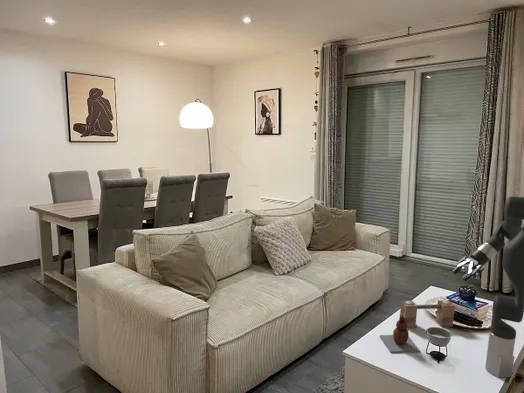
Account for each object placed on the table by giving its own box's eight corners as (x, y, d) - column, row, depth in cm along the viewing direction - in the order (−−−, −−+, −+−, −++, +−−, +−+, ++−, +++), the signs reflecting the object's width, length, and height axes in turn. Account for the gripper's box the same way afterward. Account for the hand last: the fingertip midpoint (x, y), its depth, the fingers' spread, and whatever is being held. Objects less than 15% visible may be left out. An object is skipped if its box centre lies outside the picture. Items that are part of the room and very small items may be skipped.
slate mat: (420, 352, 179) (420, 350, 179) (390, 352, 178) (390, 351, 178) (407, 336, 193) (407, 334, 193) (379, 336, 192) (379, 335, 192)
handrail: (452, 326, 203) (455, 304, 201) (404, 327, 201) (406, 305, 199) (446, 321, 209) (448, 299, 207) (399, 322, 207) (401, 299, 205)
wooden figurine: (397, 347, 182) (399, 317, 179) (390, 340, 187) (392, 311, 185) (409, 345, 183) (412, 316, 181) (402, 339, 189) (405, 310, 186)
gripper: (470, 244, 195) (446, 266, 197) (488, 253, 181) (462, 277, 183) (479, 254, 197) (455, 276, 198) (497, 264, 183) (471, 287, 184)
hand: (458, 276), depth 190 cm, fingers open, 8 cm apart
